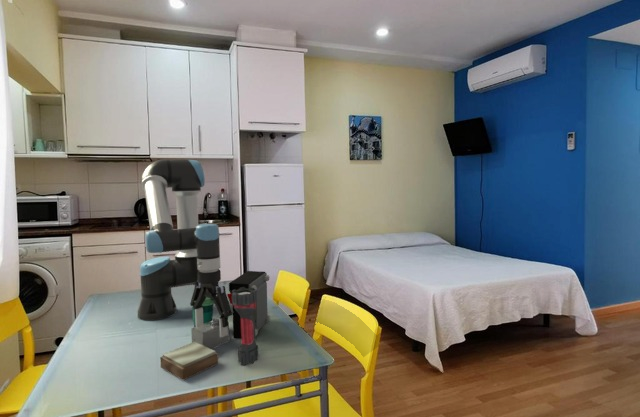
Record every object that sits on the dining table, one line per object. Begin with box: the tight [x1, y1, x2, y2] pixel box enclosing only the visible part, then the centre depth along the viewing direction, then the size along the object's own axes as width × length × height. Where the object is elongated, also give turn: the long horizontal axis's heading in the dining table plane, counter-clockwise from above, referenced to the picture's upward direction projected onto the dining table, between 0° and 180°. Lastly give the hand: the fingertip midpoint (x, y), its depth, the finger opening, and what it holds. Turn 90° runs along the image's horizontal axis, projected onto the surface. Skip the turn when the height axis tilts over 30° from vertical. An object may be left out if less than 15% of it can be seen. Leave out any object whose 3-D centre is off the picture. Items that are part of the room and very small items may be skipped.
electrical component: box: [226, 270, 271, 340], centre depth 142 cm, size 18×10×20 cm, turn 168°
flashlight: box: [231, 287, 259, 366], centre depth 117 cm, size 8×8×23 cm
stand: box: [160, 342, 219, 381], centre depth 116 cm, size 12×12×4 cm
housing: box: [190, 317, 230, 350], centre depth 130 cm, size 6×11×8 cm, turn 145°
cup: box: [192, 297, 215, 328], centre depth 143 cm, size 8×8×12 cm
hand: (211, 331), depth 130 cm, fingers open, 13 cm apart
